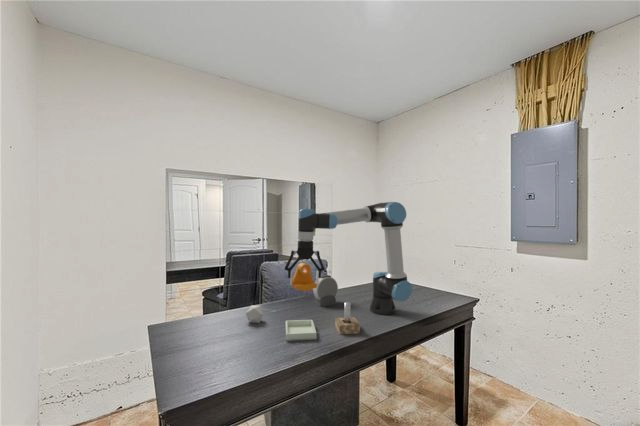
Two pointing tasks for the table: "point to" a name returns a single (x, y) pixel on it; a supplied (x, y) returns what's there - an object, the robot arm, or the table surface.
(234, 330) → the table surface
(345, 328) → the bore block
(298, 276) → the bracket
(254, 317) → the die
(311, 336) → the tray
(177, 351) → the table surface
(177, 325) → the table surface
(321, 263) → the robot arm
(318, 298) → the alarm clock
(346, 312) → the cylinder
